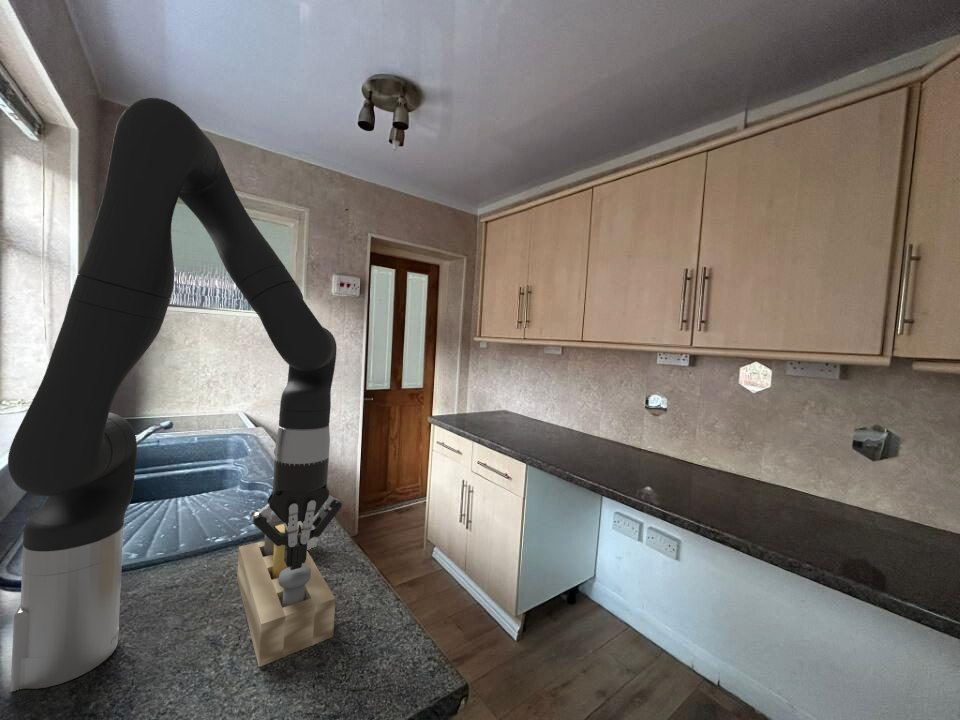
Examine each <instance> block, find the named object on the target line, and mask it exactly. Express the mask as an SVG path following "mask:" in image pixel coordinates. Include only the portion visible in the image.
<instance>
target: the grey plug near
mask: <svg viewBox="0 0 960 720" xmlns="http://www.w3.org/2000/svg"><path fill="white" fill-rule="evenodd" d="M310 577H311V569H310V567H308V566H306V565H302V567H301V568H298V569H294V570H290V568H289V567H288V568H286V569H284V570H283V571H281V572H280V574H279V585H280V586H281V587H283V604H282V608H284V607H286V606H289V605H292V604H295V603H298V602H301V601H304V595H305V584H306V583H307V582H308V581H309V580H310Z"/></svg>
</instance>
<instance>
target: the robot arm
mask: <svg viewBox="0 0 960 720" xmlns="http://www.w3.org/2000/svg"><path fill="white" fill-rule="evenodd" d="M111 145H112V146H111V150H110V158H109V163H108V169H107V174H106V181H105V186H104V190H103V195H102V200H101V203H100V206H99V209H98V212H97V215H96V219H95V221H94V225H93V229H92V231H91V235H90V239H89V242H88V245H87V248H86V252H85V254H84V257H83V259H82V261H81V264H80V267H79V270H78V272H77V276H76V279H75V281H74V284H73V287H72V290H71V293H70V297H69V300H68V303H67V307H66V310H65V314H64V318H63V321H62V324H61V327H60V330H59V332H58V336H57V339H56V341H55V343H54V347H53V349H52V352H51V355H50V357H49V360H48V365H47V367H46V369H45V373H44V376H43V377H42V380H41V383H40V385H39V387H38V389H37V391H36V393H35V395H34V397H33V399H32V401H31V403H30V405H29V406H28V409H27V411H26V412H25V415H24V416H23V419H22V421H21V423H20V425H19V427H18V429H17V431H16V433H15V435H14V438H13V440H12V442H11V445H10V448H9V451H8V456H7V467H8V468H7V469H8V471H9V474H10V477H11V479H12V480H13V482H14V484H15V485H16V486H17V487H19V488H20V489H21V490H22V491H24V492H27V493H28V494H30V495H34V496H39V497H47V498H46V500H45V501H44V503H43V504H42V505H41V506H40V507H39V509H37V511H35V513H33V515H32V516H30V518H29V519H28V520H27V522H26V523H25V526H24V528H23V535H22V537H23V541H22V545H23V546H22V547H23V548H22V564H21V566H22V568H21V582H20V583H21V584H20V585H21V587H20V588H21V589H20V604H19V607H18V608H17V610H16V611H15V612H14V613H15V614H14V615H13V627H12V628H13V629H12V632H13V633H12V651H11V652H12V654H11V670H10V671H11V672H10V673H11V674H10V675H11V676H10V692H11V693H13V692H12V691H14V692H16V690H17V691H20V690H23V689H33V690H34V689H35V690H37V689H44V688H50V687H54V686H57V685H61V684H64V683H67V682H70V681H72V680H74V679H77V678H79V677H81V676H83V675H85V674H87V673H88V672H90V671H92V670H93V669H95V668H97V667H98V666H100V665H101V664H102V663H103V662H105V661H107V659H108V658H109V657H110V656H112V654H114V652H115V650H116V649H117V646H118V645H119V643H118V642H119V631H120V627H119V623H120V606H121V604H120V603H121V591H122V590H121V589H122V588H121V584H122V570H123V569H122V568H123V567H122V566H123V550H124V548H123V547H124V529H125V528H124V527H125V515H126V513H127V512H126V511H127V509H128V508H129V506H130V504H131V501H132V498H133V494H134V493H133V492H134V486H135V478H136V477H135V476H136V467H137V455H138V445H137V436H136V433H135V430H134V428H133V426H132V425H131V424H130V422H129V421H128V420H127V419H125V418H124V417H122V416H121V415H119V414H116V413H113V412H110V411H111V409H112V408H111V407H112V405H113V401H114V400H115V396H116V394H117V392H118V390H119V388H120V386H121V385H122V383H123V382H124V380H125V378H126V377H127V376H128V375H129V373H130V372H131V371H132V369H133V368H134V367H135V366H136V364H137V363H138V362H139V361H140V359H142V357H143V356H144V355H145V353H146V351H147V350H148V349H149V348H150V347H151V345H152V344H153V342H154V341H155V339H156V338H157V336H158V334H159V333H160V330H161V328H162V326H163V324H164V320H165V318H166V314H167V310H168V308H169V305H170V302H171V298H172V296H173V295H172V294H173V291H174V286H175V265H174V255H173V243H172V223H173V216H174V212H175V208H176V206H177V202H178V201H179V199H180V201H182V203H184V204H185V206H186V207H187V208H188V209H189V210H190V211H191V212H192V214H194V216H195V217H196V218H197V219H198V221H199V222H200V223H201V225H202V226H203V228H204V229H205V230H206V232H207V234H208V235H209V237H210V239H211V241H212V242H213V245H214V246H215V249H216V251H217V253H218V255H219V258H220V260H221V263H222V265H223V267H224V268H225V270H226V271H227V273H228V275H229V278H231V279H232V281H233V283H234V284H235V286H236V288H237V289H238V291H240V293H241V294H242V296H243V297H244V298H245V301H246V302H247V303H248V305H250V307H251V308H252V310H253V312H255V313H256V314H257V316H258V318H259V319H260V321H261V324H262V327H264V330H265V332H266V333H267V337H268V338H269V339H270V341H271V343H272V345H273V347H274V348H275V349H276V352H277V353H278V354H279V356H281V358H282V359H283V361H284V362H285V363H286V364H287V365H288V374H287V383H286V386H285V388H284V390H283V392H282V393H281V397H280V404H279V415H278V419H279V420H278V428H277V429H278V430H277V434H276V439H275V447H274V451H273V455H274V462H273V464H274V465H273V479H272V480H273V481H272V488H271V489H272V490H271V493H270V495H269V496H268V498H267V504H265V505H264V506H263V507H262V508H261V509H260V510H259V509H258V510H254V511H253V512H251V514H250V517H251V520H252V522H253V525H255V526H256V527H257V528H258V529H259V530H260V532H262V533H263V534H264V536H265V535H266V536H267V537H268V538H269V539H270V540H271V541H272V542H273V543H274V544H275V545H276V546H281V545H285V554H284V561H285V563H286V566H287V567H289V568H290V570H294V569H298V568H301V567H302V563H305V561H306V555H307V543H308V541H309V540H310V539H311V538H313V537H317V538H319V537H320V536H321V535H322V534H323V532H324V531H325V529H326V528H327V527H328V526H329V524H330V523H331V521H333V520H334V518H335V516H336V515H337V514H338V512H339V511H340V510H341V508H342V506H343V503H342V502H341V501H340V500H339V498H337V497H336V496H332V495H330V490H329V488H328V477H329V476H328V475H329V460H330V447H331V446H330V445H331V435H330V420H331V407H332V403H331V402H332V401H331V397H332V395H331V394H332V393H331V392H332V391H331V390H332V386H333V381H334V380H333V379H334V374H335V367H336V363H337V362H336V359H337V350H338V349H337V348H338V347H337V341H336V339H335V337H334V335H333V333H332V332H330V331H329V330H328V329H327V328H326V327H323V326H322V324H321V323H320V322H319V320H318V319H317V317H316V316H315V314H313V313H314V312H312V309H310V308H309V306H308V305H307V303H306V302H305V300H304V295H303V292H302V291H301V289H300V287H299V285H298V284H297V283H296V281H295V280H294V278H293V277H292V275H291V273H290V272H289V270H288V269H287V268H286V266H285V264H284V263H283V262H282V261H281V259H280V258H279V256H278V255H277V253H276V252H275V250H274V249H273V248H272V247H271V246H272V245H270V244H269V242H268V241H267V240H266V238H265V237H264V236H263V234H262V233H261V231H260V230H259V229H258V227H257V226H256V224H255V223H254V221H253V220H252V218H251V217H250V215H249V213H248V212H247V210H246V209H245V207H244V205H243V203H242V201H241V200H240V198H239V196H238V194H237V192H236V190H235V188H234V185H233V183H232V181H231V179H230V177H229V175H228V173H227V169H226V168H225V167H224V164H223V161H222V159H221V158H220V154H219V152H218V150H217V148H216V147H215V145H214V144H213V142H212V141H211V140H210V139H209V137H208V136H207V135H206V134H205V133H204V132H203V131H202V129H201V127H200V126H199V125H198V124H197V123H196V122H195V121H194V120H193V119H192V118H191V117H190V116H189V114H188V113H186V112H185V111H184V110H183V109H182V108H181V107H179V106H178V105H177V104H174V103H173V102H171V101H168V100H166V99H163V98H159V97H147V98H140V99H139V100H136V101H134V102H133V103H132V104H129V106H127V107H126V109H125V110H123V112H122V114H121V115H120V117H119V119H118V121H117V123H116V127H115V130H114V134H113V140H112V144H111ZM321 508H322V509H321ZM272 511H273V512H274V513H275V514H276V515H277V516H278V517H279V518H280V520H281V521H282V522H284V527H285V533H281V532H280V531H279V530H278V529H277V528H276V527H275V526H274V525H273V524H272V523H271V522H270V521H271V520H272V516H271V512H272ZM318 511H319V515H318V516H317V517H316V518H315V520H314V521H313V517H314V516H315V515H316V514H317V513H318ZM19 689H20V690H19Z"/></svg>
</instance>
